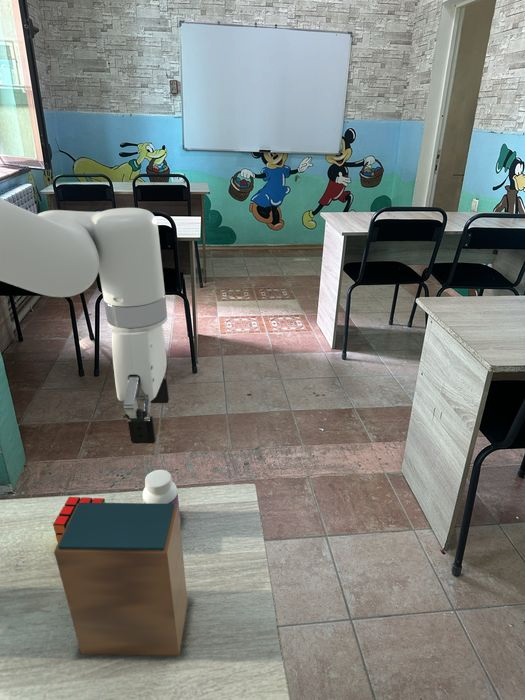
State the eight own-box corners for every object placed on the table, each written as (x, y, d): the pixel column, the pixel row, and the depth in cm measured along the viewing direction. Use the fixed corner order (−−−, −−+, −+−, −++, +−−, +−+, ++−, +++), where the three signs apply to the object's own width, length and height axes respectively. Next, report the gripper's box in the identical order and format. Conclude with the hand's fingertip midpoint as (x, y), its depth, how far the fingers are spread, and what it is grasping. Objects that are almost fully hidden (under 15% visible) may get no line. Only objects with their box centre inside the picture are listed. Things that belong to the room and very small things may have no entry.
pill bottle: (187, 518, 78) (183, 472, 74) (168, 541, 74) (162, 494, 70) (159, 507, 81) (154, 462, 76) (139, 530, 76) (133, 483, 72)
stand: (81, 655, 59) (53, 551, 51) (99, 603, 65) (77, 503, 57) (179, 656, 59) (167, 552, 51) (187, 604, 65) (178, 504, 57)
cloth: (58, 549, 51) (57, 546, 51) (79, 504, 57) (79, 502, 56) (163, 550, 51) (163, 547, 51) (174, 506, 57) (174, 503, 56)
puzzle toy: (96, 554, 72) (90, 526, 70) (59, 552, 72) (52, 524, 70) (109, 525, 77) (104, 498, 75) (75, 523, 77) (69, 496, 75)
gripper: (125, 287, 69) (139, 389, 76) (84, 339, 53) (107, 460, 61) (177, 287, 69) (186, 389, 76) (151, 339, 53) (166, 460, 61)
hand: (151, 420), depth 69 cm, fingers open, 9 cm apart
